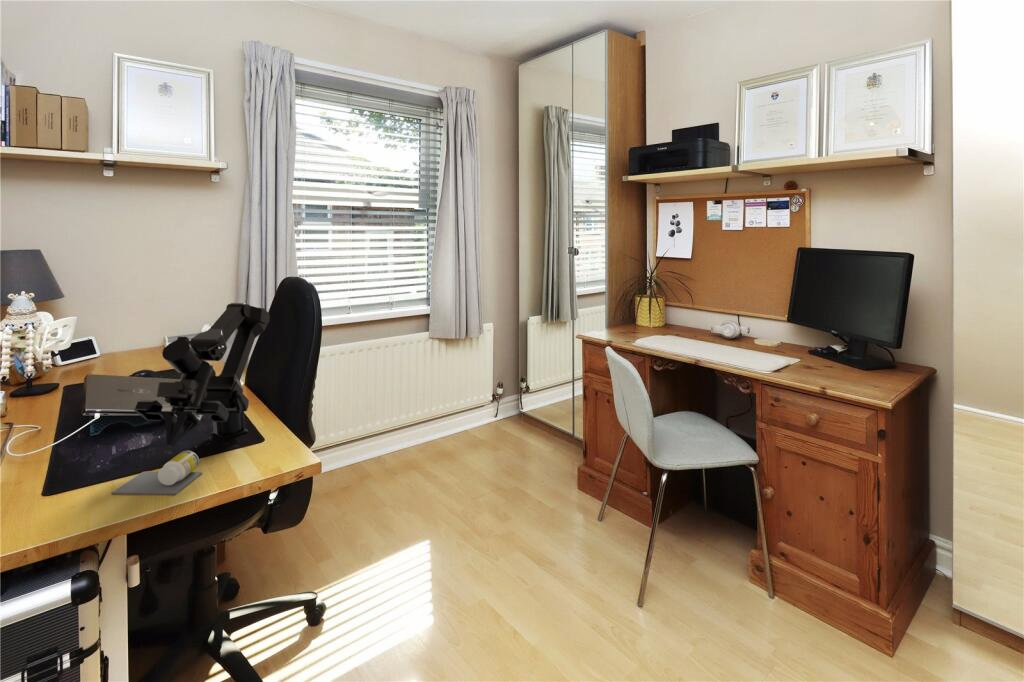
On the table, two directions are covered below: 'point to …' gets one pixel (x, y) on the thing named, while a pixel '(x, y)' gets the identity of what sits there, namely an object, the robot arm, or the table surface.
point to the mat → (154, 484)
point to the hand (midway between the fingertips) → (169, 445)
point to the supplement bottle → (178, 468)
